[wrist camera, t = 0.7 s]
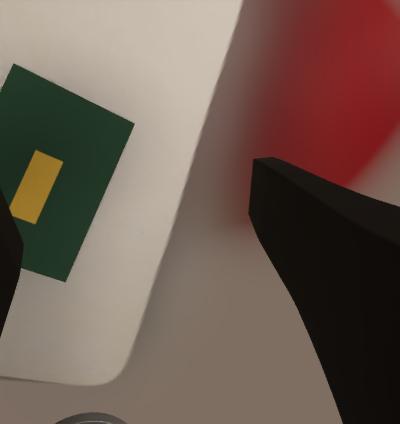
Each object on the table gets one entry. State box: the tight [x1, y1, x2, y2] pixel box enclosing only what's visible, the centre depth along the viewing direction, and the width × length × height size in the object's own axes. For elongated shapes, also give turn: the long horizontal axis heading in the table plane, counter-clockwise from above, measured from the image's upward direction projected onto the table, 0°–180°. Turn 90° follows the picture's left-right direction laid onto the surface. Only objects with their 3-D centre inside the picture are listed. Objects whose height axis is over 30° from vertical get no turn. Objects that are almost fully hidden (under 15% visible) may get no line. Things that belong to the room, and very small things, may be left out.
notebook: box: [0, 64, 134, 282], centre depth 30 cm, size 16×11×1 cm
